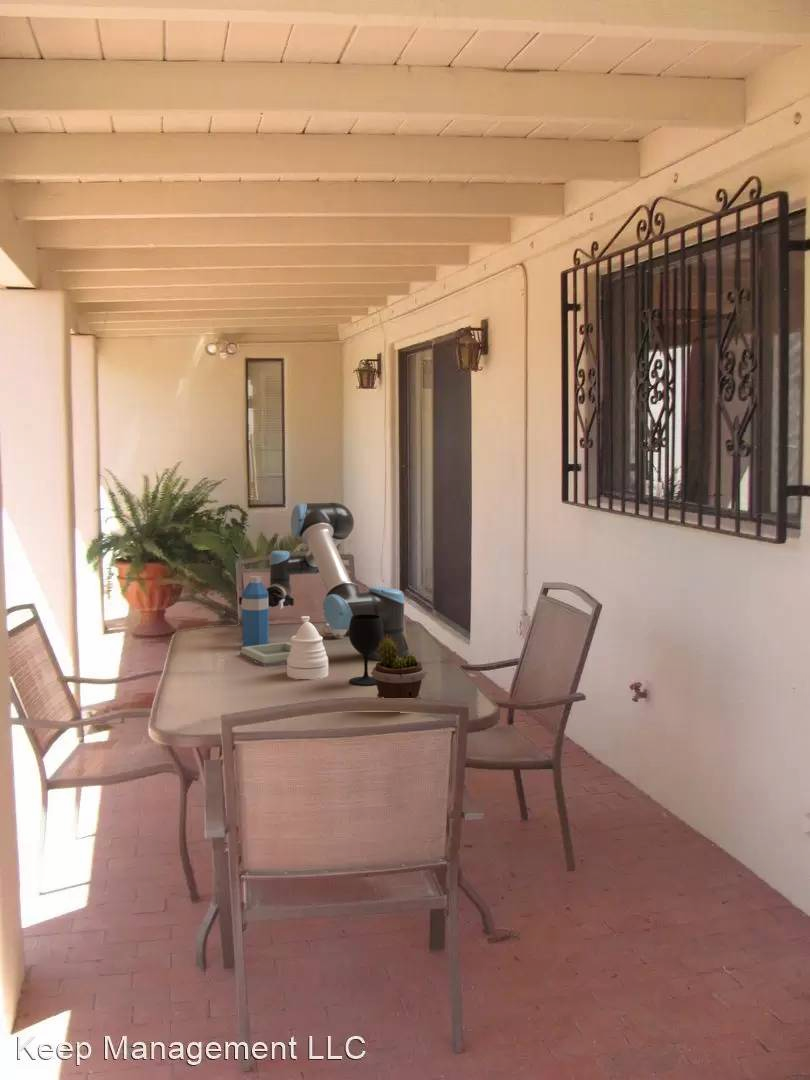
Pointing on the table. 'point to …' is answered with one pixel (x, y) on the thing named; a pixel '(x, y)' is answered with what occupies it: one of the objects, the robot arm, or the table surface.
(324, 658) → the honey pot
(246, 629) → the water bottle
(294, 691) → the table surface
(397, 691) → the flowerpot
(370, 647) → the wine glass
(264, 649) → the pale green tray
